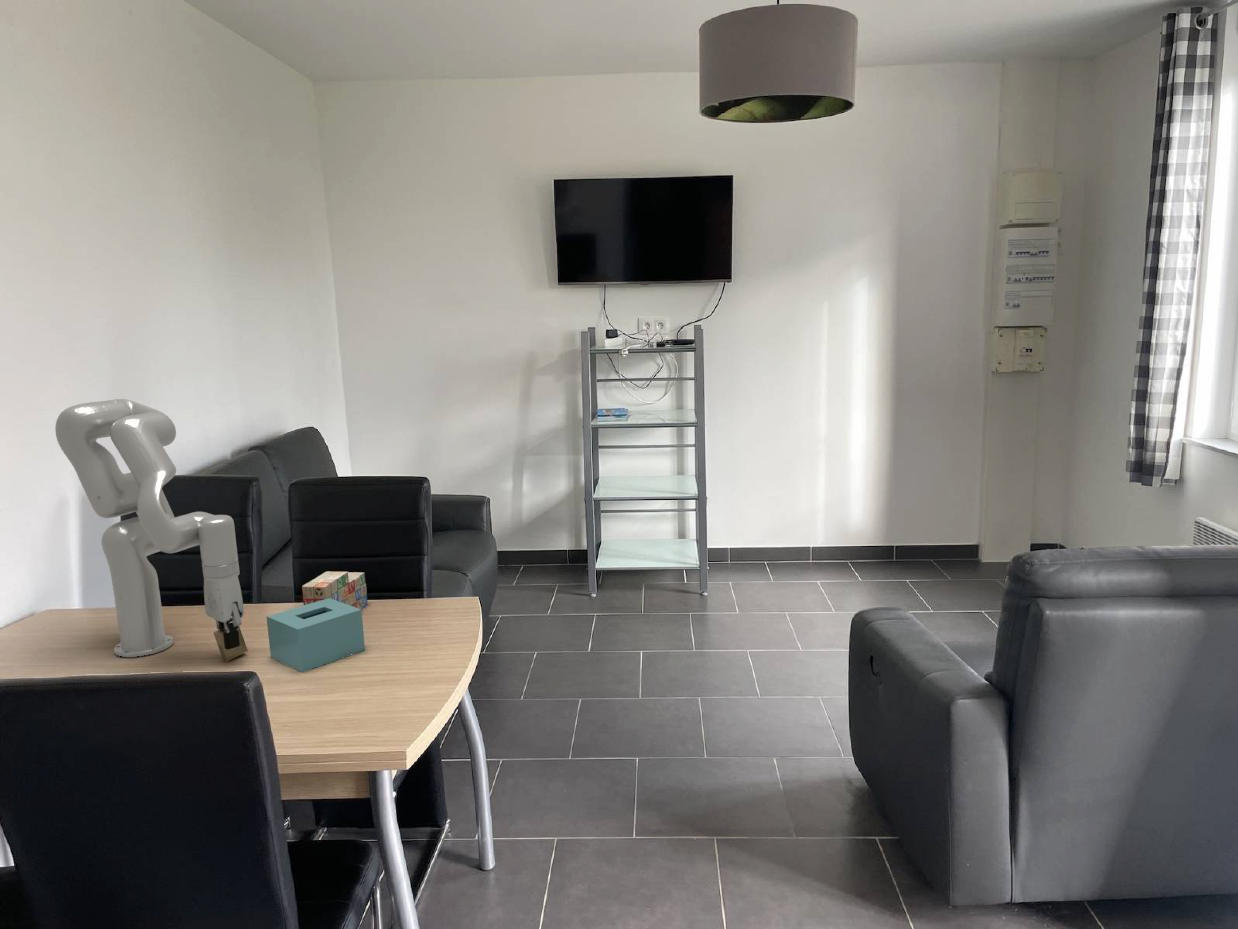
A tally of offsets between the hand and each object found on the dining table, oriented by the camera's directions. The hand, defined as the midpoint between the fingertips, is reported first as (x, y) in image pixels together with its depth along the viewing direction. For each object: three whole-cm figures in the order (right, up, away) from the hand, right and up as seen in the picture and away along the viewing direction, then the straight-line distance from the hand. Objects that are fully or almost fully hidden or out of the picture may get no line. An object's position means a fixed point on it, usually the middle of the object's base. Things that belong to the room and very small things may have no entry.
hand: (229, 645), depth 205 cm
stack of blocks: (+17, +2, +26) cm, 31 cm away
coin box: (+20, -2, +2) cm, 20 cm away
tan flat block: (+1, -2, +1) cm, 3 cm away
